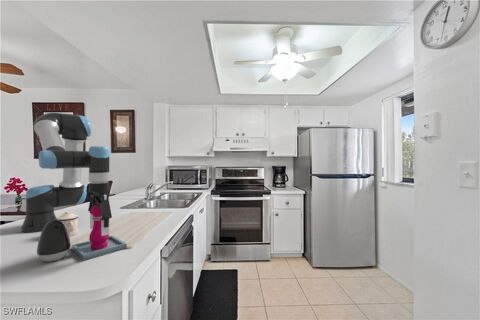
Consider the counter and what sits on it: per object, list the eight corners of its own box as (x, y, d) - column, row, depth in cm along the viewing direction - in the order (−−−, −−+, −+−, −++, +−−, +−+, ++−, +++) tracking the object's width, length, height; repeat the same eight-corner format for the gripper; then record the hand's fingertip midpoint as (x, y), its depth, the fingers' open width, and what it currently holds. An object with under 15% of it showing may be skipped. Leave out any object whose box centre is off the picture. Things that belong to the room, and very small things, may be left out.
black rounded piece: (43, 267, 81) (42, 225, 80) (32, 260, 86) (32, 220, 86) (75, 257, 89) (75, 218, 89) (64, 251, 95) (64, 215, 95)
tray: (71, 249, 96) (71, 245, 96) (111, 239, 109) (111, 235, 109) (83, 260, 86) (83, 255, 86) (126, 248, 98) (126, 243, 98)
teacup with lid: (53, 234, 114) (53, 212, 114) (74, 230, 121) (74, 208, 121) (60, 240, 107) (60, 216, 107) (83, 235, 114) (83, 212, 114)
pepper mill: (99, 251, 93) (99, 202, 93) (85, 249, 95) (84, 202, 94) (112, 244, 100) (112, 199, 100) (99, 243, 102) (98, 199, 101)
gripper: (120, 183, 92) (120, 235, 92) (98, 179, 108) (98, 223, 108) (100, 185, 86) (100, 240, 86) (80, 180, 102) (80, 227, 102)
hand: (99, 231), depth 97 cm, fingers open, 13 cm apart
